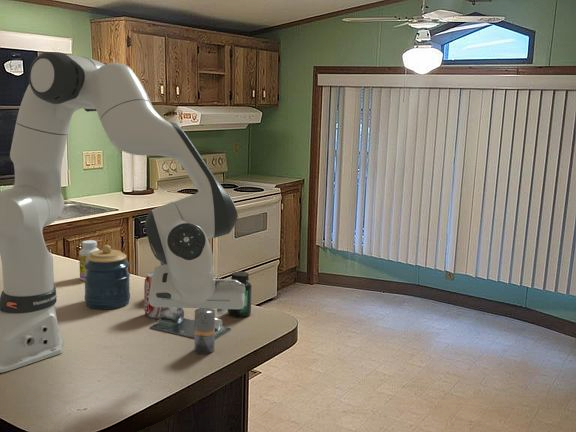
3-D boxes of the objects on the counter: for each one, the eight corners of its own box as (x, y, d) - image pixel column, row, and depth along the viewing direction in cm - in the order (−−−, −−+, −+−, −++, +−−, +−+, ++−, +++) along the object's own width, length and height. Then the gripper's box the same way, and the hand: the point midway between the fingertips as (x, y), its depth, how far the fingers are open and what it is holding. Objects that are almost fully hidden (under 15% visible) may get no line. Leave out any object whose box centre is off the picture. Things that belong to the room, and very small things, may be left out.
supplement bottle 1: (80, 276, 204) (79, 239, 202) (100, 275, 206) (99, 239, 204) (79, 282, 198) (78, 244, 196) (100, 281, 200) (100, 243, 198)
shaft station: (210, 342, 152) (210, 323, 151) (149, 328, 160) (149, 310, 159) (231, 329, 160) (231, 311, 160) (172, 317, 169) (172, 300, 168)
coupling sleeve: (207, 355, 143) (207, 315, 142) (190, 351, 145) (190, 312, 144) (218, 348, 148) (219, 309, 146) (201, 344, 150) (202, 306, 148)
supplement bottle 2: (249, 318, 170) (250, 277, 167) (225, 317, 170) (226, 276, 168) (252, 310, 176) (253, 271, 174) (229, 309, 177) (230, 269, 175)
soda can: (164, 320, 165) (164, 278, 163) (140, 318, 167) (139, 276, 165) (174, 312, 172) (174, 272, 170) (150, 310, 174) (150, 269, 172)
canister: (133, 308, 175) (132, 248, 172) (86, 312, 170) (84, 251, 167) (127, 294, 187) (126, 239, 184) (83, 298, 182) (81, 241, 179)
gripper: (245, 269, 125) (247, 299, 136) (147, 266, 125) (156, 297, 136) (244, 296, 121) (245, 325, 133) (142, 293, 121) (152, 322, 132)
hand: (199, 310), depth 134 cm, fingers open, 8 cm apart
